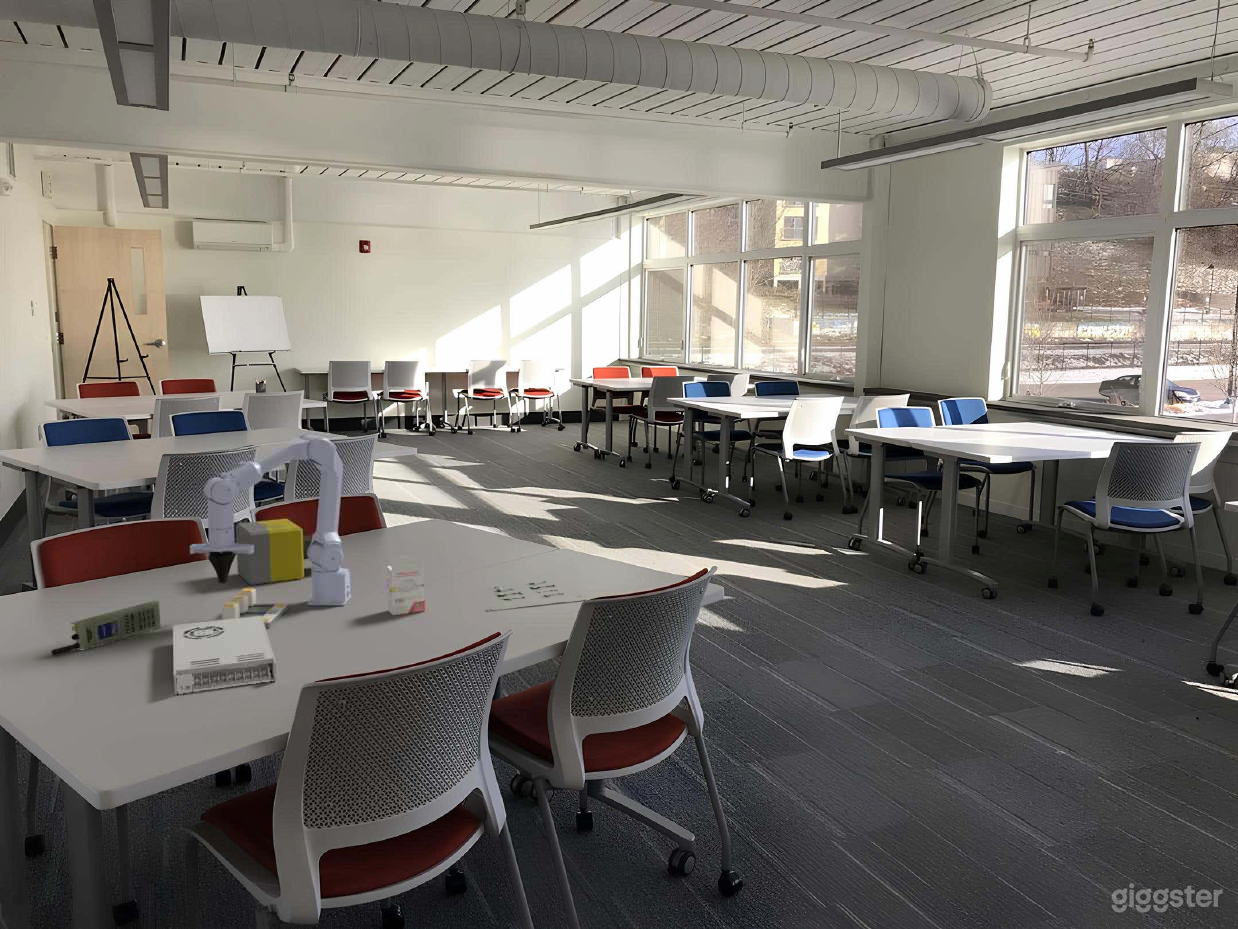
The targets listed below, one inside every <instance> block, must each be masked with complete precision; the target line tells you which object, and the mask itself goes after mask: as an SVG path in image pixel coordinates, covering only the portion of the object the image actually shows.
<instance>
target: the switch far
mask: <svg viewBox="0 0 1238 929" xmlns="http://www.w3.org/2000/svg"><path fill="white" fill-rule="evenodd" d="M239 595H246V596H248V606H253V605H254V604H257V591H256V588H254V587H252V588H251V587H244V588H243V589H241V591H240V592H239Z"/></svg>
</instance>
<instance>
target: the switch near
mask: <svg viewBox="0 0 1238 929" xmlns="http://www.w3.org/2000/svg"><path fill="white" fill-rule="evenodd" d="M221 613H222V619H223V620H226V619H235V618H239V617H240V611H239V603H237V602H231V601H227V602H225V603H224V604H223V605H222V606H221Z"/></svg>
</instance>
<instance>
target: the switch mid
mask: <svg viewBox="0 0 1238 929" xmlns="http://www.w3.org/2000/svg"><path fill="white" fill-rule="evenodd" d="M230 602H237V603H239V611H240V613H245V612H246V611H247V610H248V596H246V595H240V594H236V595H234V596H233V597H232V598H231V599H230Z"/></svg>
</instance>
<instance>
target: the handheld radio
mask: <svg viewBox="0 0 1238 929" xmlns="http://www.w3.org/2000/svg"><path fill="white" fill-rule="evenodd" d="M160 611H161V610H160V602H159V600H152V601H148V602H144V603H140V604H137V605H133V606H128V607H125V608H121V609H117V610H114V611H113V610H112V611H110V612H107V613H103V614H102V613H101V614H98V615H94V616H92V617H91V616H90V617H87V618H84V619H80V620H77V621H73V622H70V624H71V625H74V626H72V627H71V631H72V632H74V634H72V635H71V637H70V638H71V639H72V641H75V643H73V644H70V645H66V646H61V647H58V648H54V649H52V650H51V651H50V652H51V655H52V656H56V655H57V656H58V655H60V654H64V653H67V652H71V651H73V650H77V649H78V648H79V649H87V648H90V649H92V648H91V647H93V646H97V645H100V646H102V645H101V644H104V645H106V644H105V643H107V644H109V643H108V642H111V643H113V642H112V641H114V642H117V641H120V640H119V639H121V640H123V639H122V638H124V639H126V638H125V637H128V638H130V636H131V637H134V635H135V636H137V635H136V634H138V635H140V633H141V634H145V633H148V632H151V631H150V630H152V631H155V630H158V629H161V628H162V626H161V614H160ZM116 640H117V641H116ZM97 647H98V646H97ZM87 650H88V649H87Z"/></svg>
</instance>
